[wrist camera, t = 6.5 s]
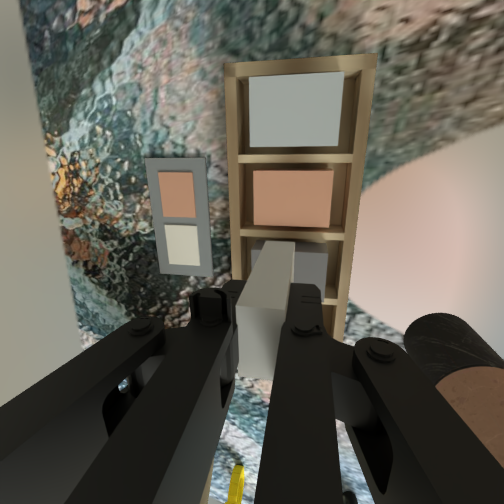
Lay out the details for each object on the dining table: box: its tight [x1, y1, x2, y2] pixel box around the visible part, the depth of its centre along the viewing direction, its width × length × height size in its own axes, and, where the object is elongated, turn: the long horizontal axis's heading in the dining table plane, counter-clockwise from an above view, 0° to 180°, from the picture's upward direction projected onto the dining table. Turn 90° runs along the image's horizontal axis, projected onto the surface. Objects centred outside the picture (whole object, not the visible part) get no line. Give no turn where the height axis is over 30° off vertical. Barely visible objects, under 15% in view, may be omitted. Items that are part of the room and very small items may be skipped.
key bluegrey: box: [249, 72, 344, 147], centre depth 23 cm, size 7×5×3 cm
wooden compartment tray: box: [224, 53, 378, 343], centre depth 29 cm, size 12×29×4 cm, turn 1°
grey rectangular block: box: [251, 240, 328, 303], centre depth 28 cm, size 7×5×3 cm
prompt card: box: [145, 158, 214, 277], centre depth 33 cm, size 7×14×1 cm, turn 1°
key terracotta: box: [253, 168, 334, 228], centre depth 27 cm, size 7×5×3 cm
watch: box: [224, 465, 244, 504], centre depth 44 cm, size 6×3×6 cm, turn 2°
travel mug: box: [404, 313, 504, 468], centre depth 23 cm, size 8×8×20 cm
